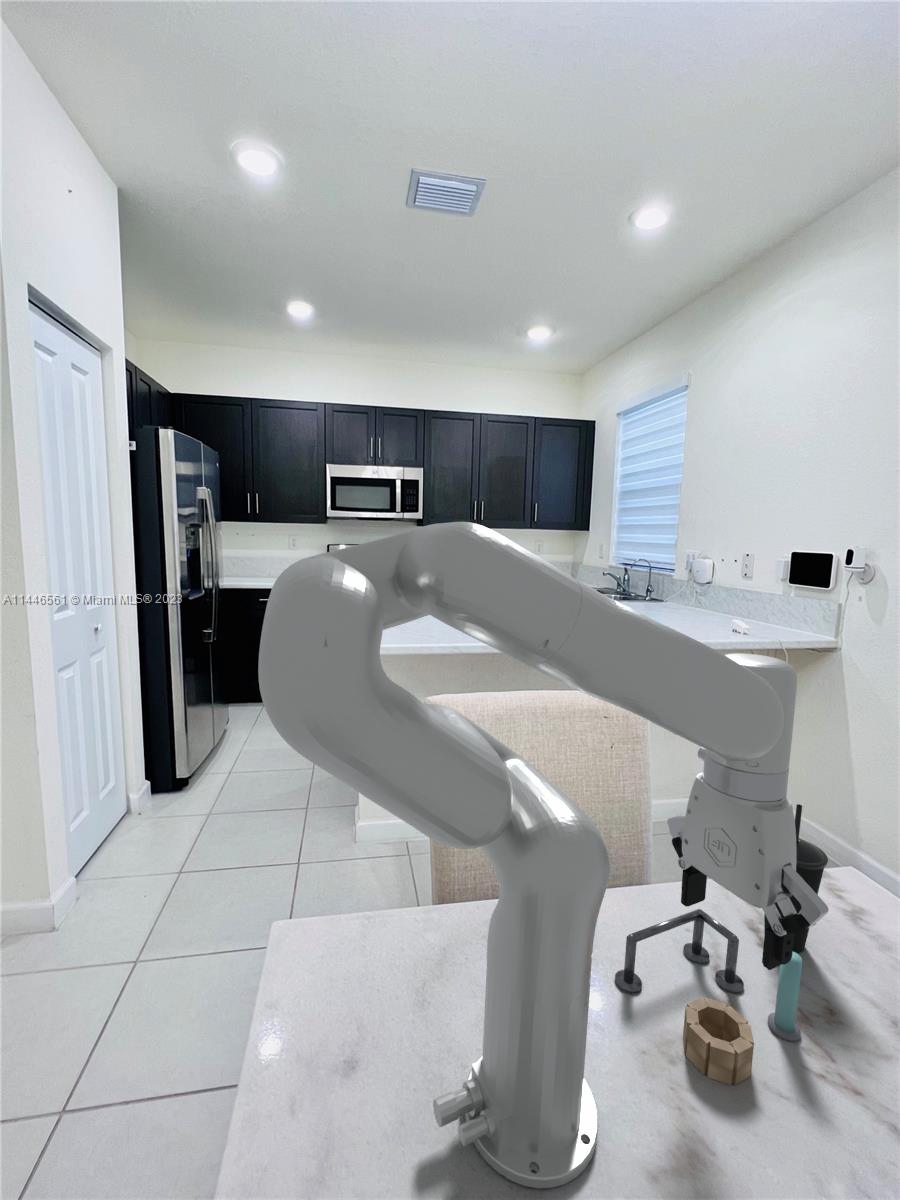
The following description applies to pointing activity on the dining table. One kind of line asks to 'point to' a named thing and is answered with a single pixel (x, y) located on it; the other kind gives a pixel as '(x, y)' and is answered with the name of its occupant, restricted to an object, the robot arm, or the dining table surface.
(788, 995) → the peg
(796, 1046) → the dining table surface
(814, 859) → the drinking cup
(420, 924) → the dining table surface
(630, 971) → the corner grab bar
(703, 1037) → the ring
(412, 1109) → the dining table surface
